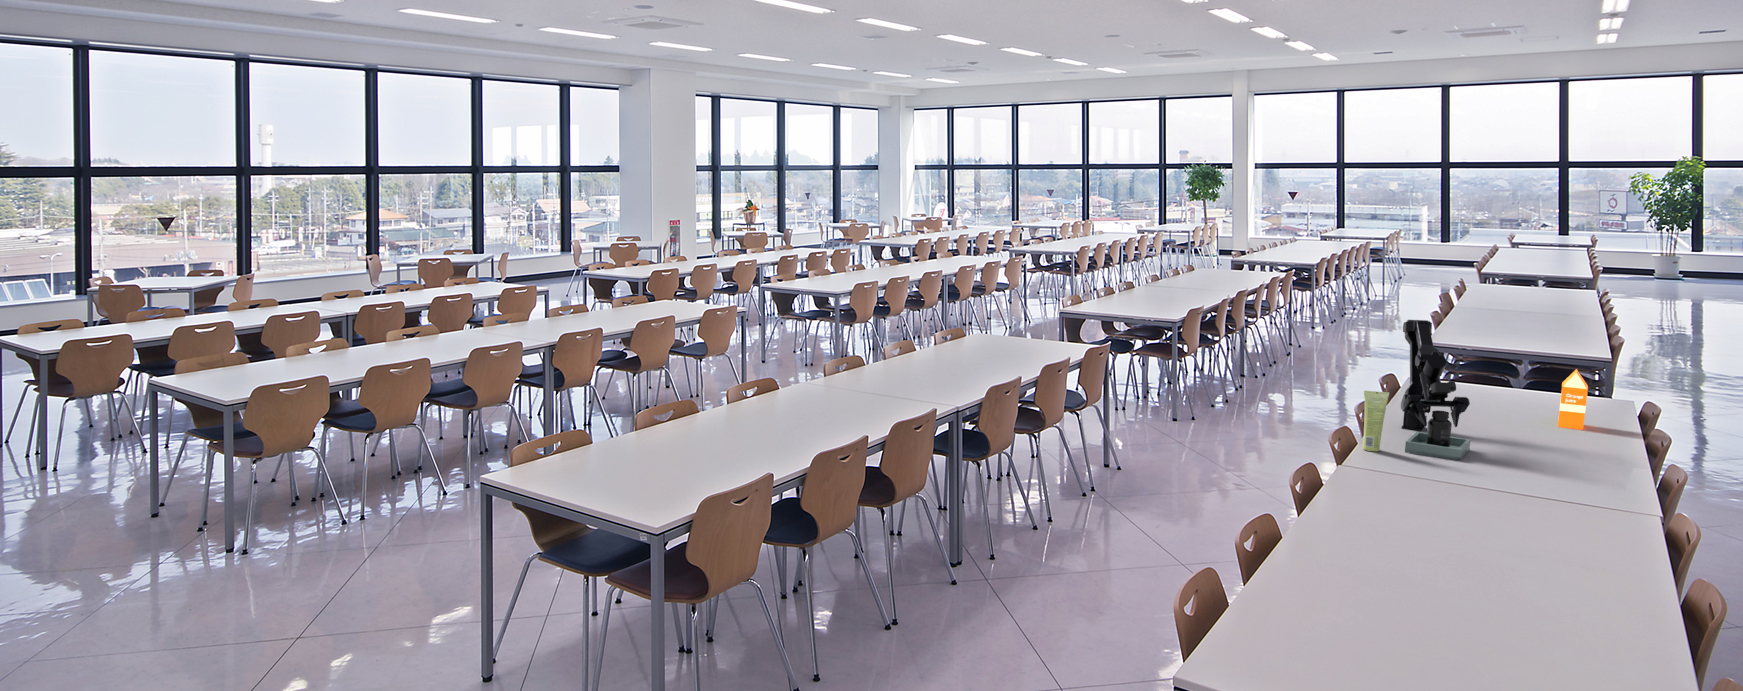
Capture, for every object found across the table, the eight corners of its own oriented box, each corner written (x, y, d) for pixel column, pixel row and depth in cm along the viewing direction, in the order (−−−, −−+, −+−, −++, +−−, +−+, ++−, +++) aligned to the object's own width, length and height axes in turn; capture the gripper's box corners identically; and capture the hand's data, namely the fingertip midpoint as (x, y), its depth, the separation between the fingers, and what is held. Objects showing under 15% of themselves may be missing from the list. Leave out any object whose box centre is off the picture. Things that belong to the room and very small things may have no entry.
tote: (1404, 452, 350) (1405, 441, 349) (1415, 442, 362) (1416, 431, 362) (1460, 460, 340) (1461, 449, 339) (1469, 450, 352) (1470, 439, 352)
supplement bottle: (1449, 446, 353) (1452, 410, 351) (1449, 451, 347) (1453, 415, 344) (1425, 444, 356) (1428, 408, 354) (1425, 449, 350) (1429, 412, 347)
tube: (1371, 447, 356) (1376, 388, 352) (1384, 450, 351) (1389, 392, 348) (1359, 449, 353) (1363, 390, 350) (1372, 452, 349) (1377, 393, 345)
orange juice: (1583, 424, 386) (1589, 369, 383) (1583, 429, 379) (1590, 373, 376) (1557, 421, 391) (1563, 367, 387) (1557, 426, 383) (1563, 371, 380)
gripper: (1409, 371, 352) (1418, 411, 343) (1470, 372, 349) (1481, 414, 341) (1399, 389, 361) (1407, 429, 352) (1458, 391, 359) (1468, 432, 350)
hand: (1441, 426), depth 348 cm, fingers open, 9 cm apart
